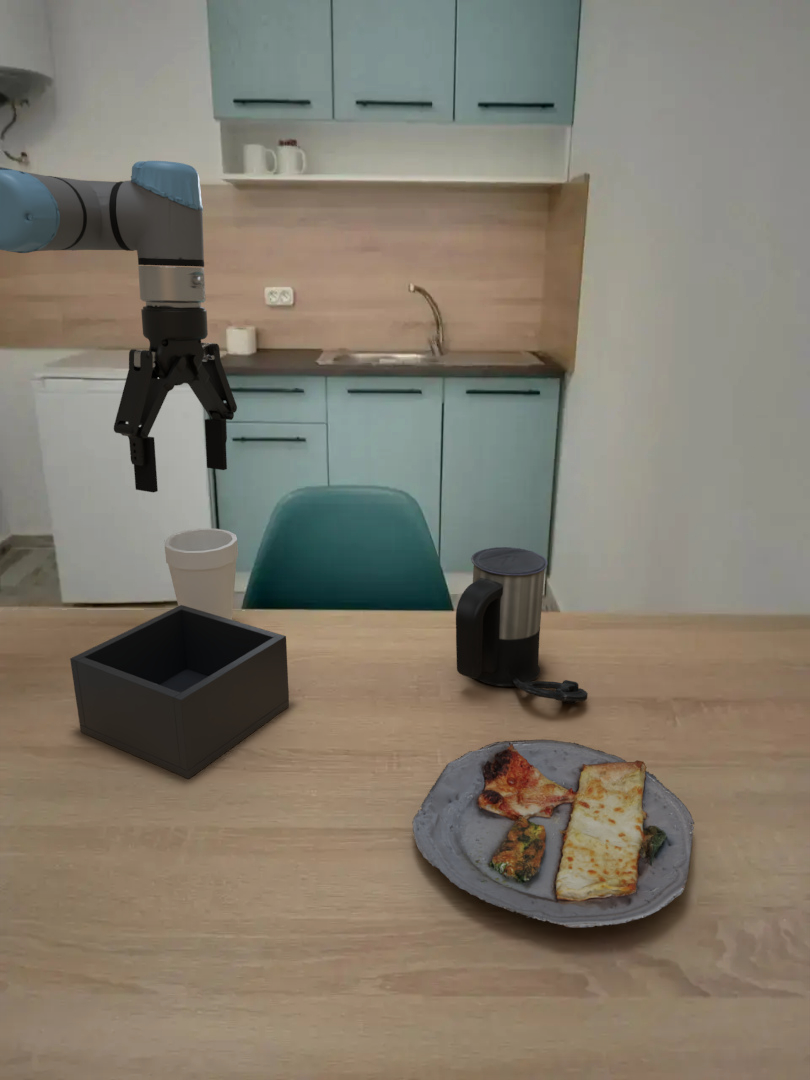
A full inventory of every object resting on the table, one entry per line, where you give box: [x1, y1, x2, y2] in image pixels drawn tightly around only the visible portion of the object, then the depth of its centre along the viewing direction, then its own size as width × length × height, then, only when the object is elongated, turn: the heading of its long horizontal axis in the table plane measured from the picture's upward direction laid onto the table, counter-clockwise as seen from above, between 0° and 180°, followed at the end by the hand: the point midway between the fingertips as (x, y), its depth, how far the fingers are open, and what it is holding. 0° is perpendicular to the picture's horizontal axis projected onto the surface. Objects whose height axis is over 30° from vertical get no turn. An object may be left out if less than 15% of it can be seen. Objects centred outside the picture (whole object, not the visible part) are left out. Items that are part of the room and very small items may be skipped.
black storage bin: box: [69, 605, 290, 780], centre depth 91 cm, size 16×16×9 cm
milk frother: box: [455, 546, 589, 705], centre depth 98 cm, size 14×16×15 cm
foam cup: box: [163, 528, 239, 620], centre depth 112 cm, size 10×9×13 cm
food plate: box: [412, 739, 695, 929], centre depth 74 cm, size 25×23×4 cm
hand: (183, 479), depth 105 cm, fingers open, 13 cm apart
